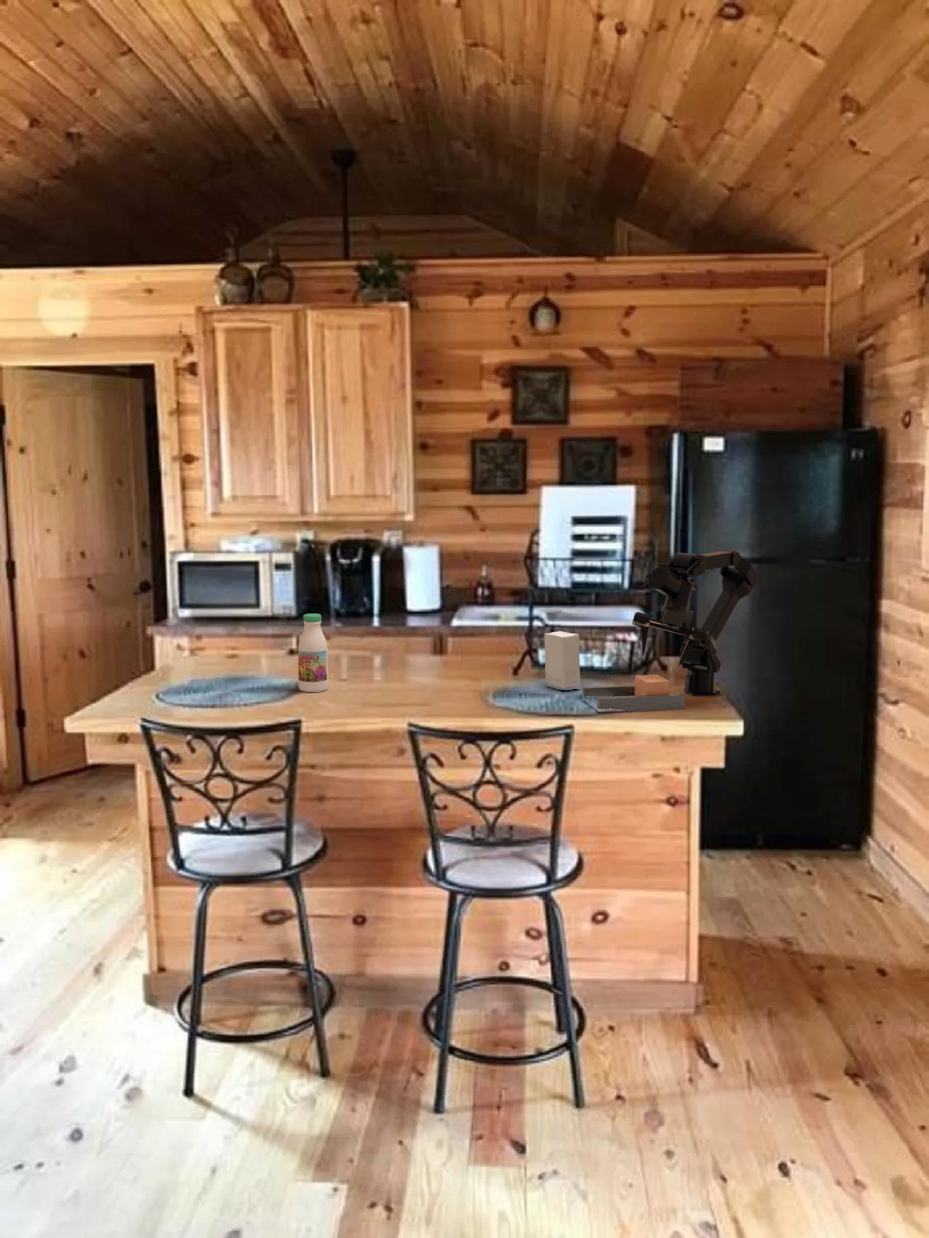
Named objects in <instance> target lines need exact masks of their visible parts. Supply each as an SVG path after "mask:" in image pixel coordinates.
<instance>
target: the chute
mask: <svg viewBox="0 0 929 1238" xmlns="http://www.w3.org/2000/svg"><path fill="white" fill-rule="evenodd" d="M581 689H582V691H581V692H582V695H581V697H582V696H584V697H585V696H618V697H597V708H598V709H610V708H611V709H622V710H625V711H628V712H631V713H632V712H645V711H646V712H648V711H652V712H653V711H668V710H669V711H671V710H685V705H686V704H685V702H686V695H685V694H684V693H669V694H663V695H640V696H636V695H635V684H625V685H624V684H623V685H601V686H600V685H598V686H582V688H581ZM628 712H627V713H628Z"/></svg>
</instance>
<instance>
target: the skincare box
mask: <svg viewBox="0 0 929 1238" xmlns="http://www.w3.org/2000/svg"><path fill="white" fill-rule="evenodd" d="M580 657H581V655H580V634H579V633H572V632H566V631H559V630H558V631H553V632H546V633H544V665H545V667H544V669H545V672H544V673H545V684H546V683H550V684H553V685H555V686H559V687H562V688H568V687H574V686H580V687H581V668H580V661H581V660H580Z"/></svg>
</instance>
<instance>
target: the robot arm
mask: <svg viewBox="0 0 929 1238" xmlns="http://www.w3.org/2000/svg"><path fill="white" fill-rule="evenodd" d="M714 569H719V571H718V572H719V575H720V576H721V578H722V579H721V587H722V590H721V593H720V594H719V596H718V598H717V600H716V601H715V603H714V604H713V606H712V609H711V610H710V612H709V613H708V615H707V616H706V619H705V620H704V622H703V623H702V625H701V627H700V628H699V627H695V626H693V627H692V629H689V628H686V627H684V625H685V624H686V625H691V623H692V620H693V617H694V611H693V610H689V609H688V608H689V605H690V600H691V597H692V594H693V590H695V591H696V590H697V591H698V589H699V587H698V586H699V585H698V584H697V583H696V581H695V579H693V578H699V577H700V576H703V575H705V574H706V572H707V571H708V570H714ZM686 577H687V578H686ZM758 580H759V575H758V574H757V572H756V570H755V568H754V567H753V565H752V564H751V563H749V561H747V560H746V559H744V558H743V557H742V555H741V553H740V552H738V551H736V550H732V549H731V550H729V549H722V550H720V551H715V552H714V551H713V552H707V553H702V554H696V553H686V552H685V553H684V552H677V553H675V554H674V557H673V558H671V560H670V561H669V562H668V563H663V562H660V563H659V564H658V567H656V568H655V569H653V570H652V571H651V573H650V574H649V575H648V584H649V586H650V588H652V589H654V590H655V591H658V592H659V593H661V594H663V595H665V596H666V598H665V601H664V605H663V609H662V613H661V616H660V619H659V620H658V619H653V618H651V614H648V613H645V612H641V611H637V612H635V613H634V616H633V619H632V622H631V625H633V626H636V628H635V630H637V631H639V634H640V639H641V656H642V657H644V656H645V652H646V648H647V640H648V634H649V627H652V628H655V629H660V630H663V631H667V632H671V633H675V634H677V635H682V636H685V639H684V641H683V642H681V645H682V646H681V648H680V650H679V656H680V657H679V662H678V665H677V666H678V667H680V666H681V668H682V669H686V674H685V675H684V688H683V691H685V692H686V693H688V694H690V695H691V696H711V695H712V696H715V695H717V692H716V691H714V687H715V686H714V684H715V681H714V680H715V674H716V673H718V672H720V669H721V666H722V662H721V661H720V659H719V658H718V656H717V652H718V648H717V640H718V638H719V636H720V634H721V633H722V631H723V629H724V627H725V626H726V624H727V622H728V620H729V618H730V616H731V615H732V614H733V612H734V610H735V608H736V606H737V604H738V603H739V601H740V600H741V599H743V598H745V597H747V596H748V595H750V593H751V592H752V590H753V589H754V588H755V587H756V585H757V584H758Z"/></svg>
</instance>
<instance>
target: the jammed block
mask: <svg viewBox="0 0 929 1238" xmlns="http://www.w3.org/2000/svg"><path fill="white" fill-rule="evenodd" d="M634 685H635V695H636V696H640V695H663V694H670V688H671V681H670V680H668V679H666V678H664V677H663V676H661V675H659V674H643V675H642V674H640V675H639V674H638V675H634Z"/></svg>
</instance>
